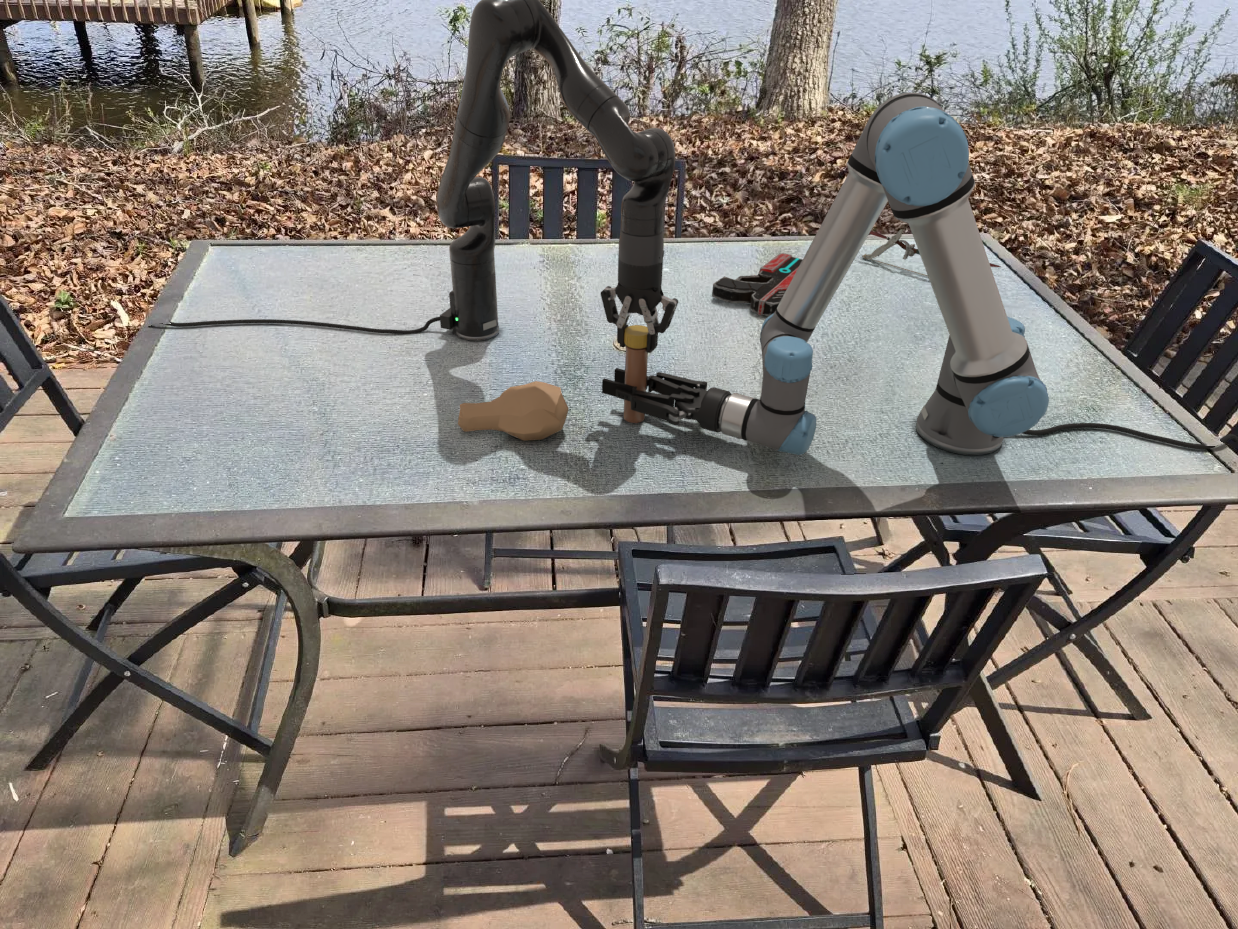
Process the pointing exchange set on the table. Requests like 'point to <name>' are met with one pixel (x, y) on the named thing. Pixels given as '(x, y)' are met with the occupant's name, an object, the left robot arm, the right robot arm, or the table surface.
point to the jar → (635, 379)
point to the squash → (519, 412)
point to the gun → (760, 285)
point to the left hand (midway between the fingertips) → (637, 347)
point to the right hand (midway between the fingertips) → (609, 380)
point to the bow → (905, 245)
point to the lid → (636, 336)
